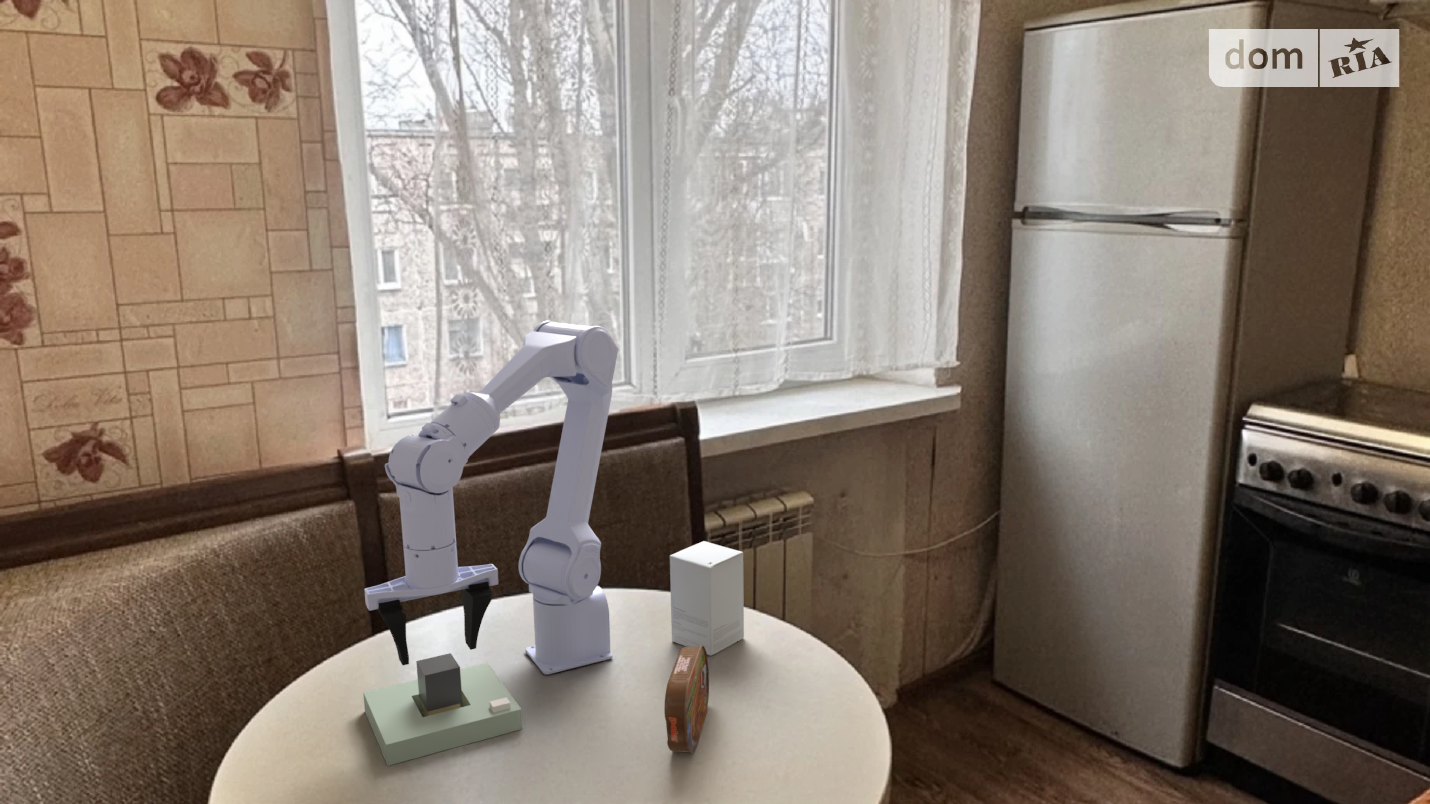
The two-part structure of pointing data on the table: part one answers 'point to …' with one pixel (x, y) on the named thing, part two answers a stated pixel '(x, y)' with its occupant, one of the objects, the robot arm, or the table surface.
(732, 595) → the supplement box
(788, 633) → the table surface
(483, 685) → the socket panel
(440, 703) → the plug
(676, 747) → the tin
